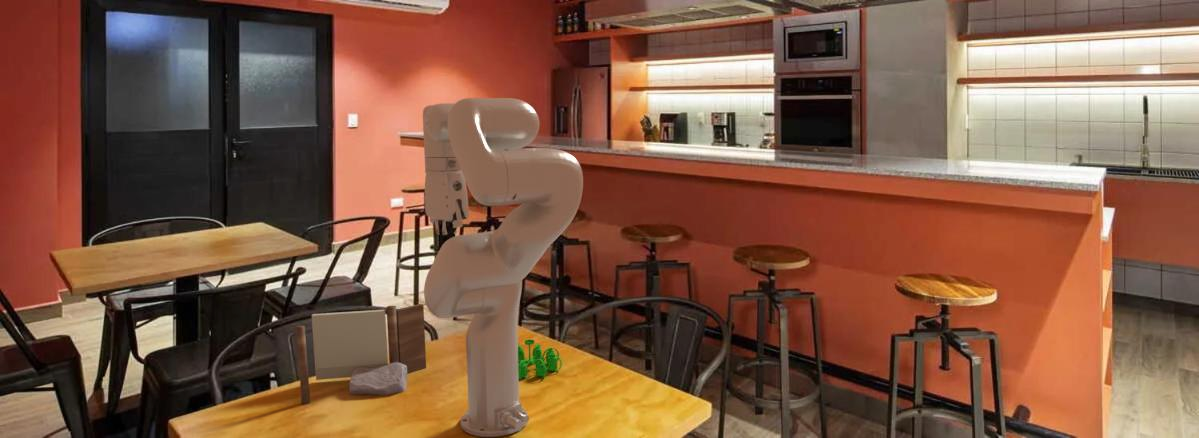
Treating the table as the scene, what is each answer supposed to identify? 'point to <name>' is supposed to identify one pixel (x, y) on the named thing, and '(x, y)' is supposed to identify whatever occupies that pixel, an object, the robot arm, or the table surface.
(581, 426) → the table surface
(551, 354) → the chandelier
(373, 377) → the stone block
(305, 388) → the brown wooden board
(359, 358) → the door
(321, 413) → the table surface
